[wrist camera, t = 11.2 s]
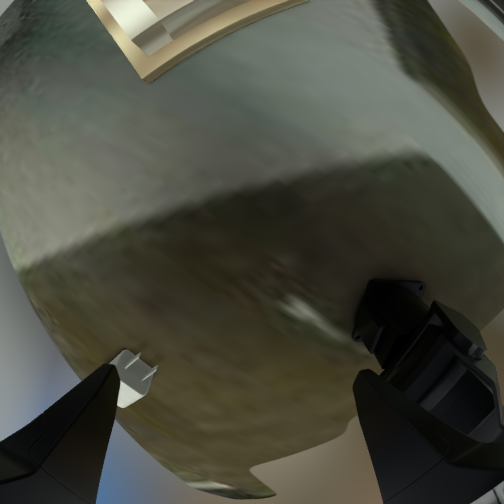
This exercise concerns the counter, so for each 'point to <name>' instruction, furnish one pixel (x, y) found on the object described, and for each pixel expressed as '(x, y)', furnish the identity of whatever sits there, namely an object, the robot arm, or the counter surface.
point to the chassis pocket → (176, 27)
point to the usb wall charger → (132, 377)
